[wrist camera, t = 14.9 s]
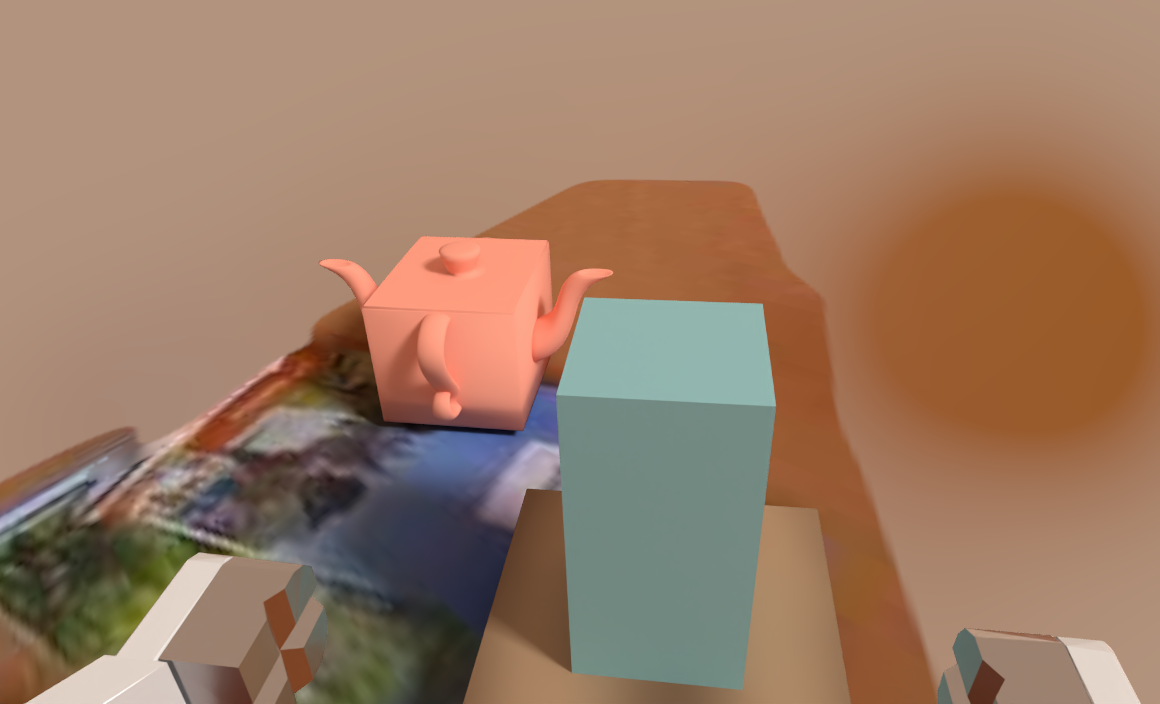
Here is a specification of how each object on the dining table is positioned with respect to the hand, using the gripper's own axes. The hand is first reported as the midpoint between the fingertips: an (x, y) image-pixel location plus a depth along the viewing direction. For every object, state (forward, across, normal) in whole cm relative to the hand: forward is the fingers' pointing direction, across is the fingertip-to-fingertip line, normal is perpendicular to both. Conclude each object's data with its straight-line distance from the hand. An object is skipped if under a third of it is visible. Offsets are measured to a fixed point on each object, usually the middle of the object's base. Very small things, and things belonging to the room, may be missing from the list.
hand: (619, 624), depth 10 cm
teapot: (+27, +10, +16) cm, 33 cm away
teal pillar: (+10, 0, +12) cm, 16 cm away
